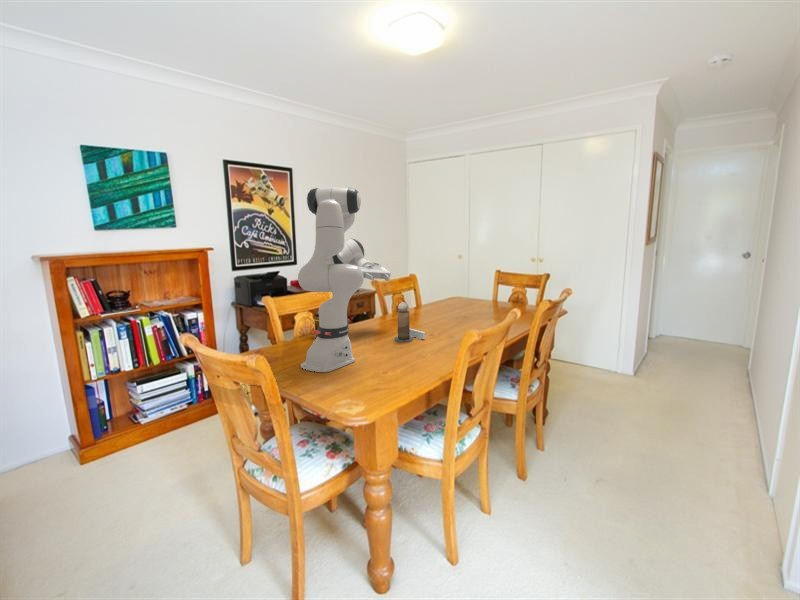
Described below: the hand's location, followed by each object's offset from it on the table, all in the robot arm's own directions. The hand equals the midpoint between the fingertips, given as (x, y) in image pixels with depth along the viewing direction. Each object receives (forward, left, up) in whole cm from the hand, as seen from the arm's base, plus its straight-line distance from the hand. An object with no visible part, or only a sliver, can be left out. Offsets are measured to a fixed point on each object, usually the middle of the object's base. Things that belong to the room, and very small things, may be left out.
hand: (380, 279), depth 190 cm
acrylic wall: (+5, -15, -28) cm, 32 cm away
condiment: (-13, +26, -29) cm, 41 cm away
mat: (-1, -12, -28) cm, 31 cm away
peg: (-1, -12, -28) cm, 30 cm away
